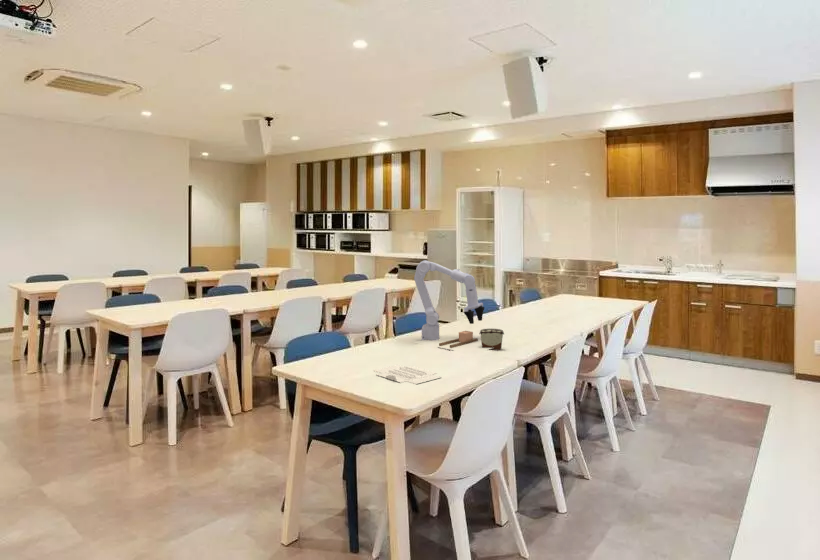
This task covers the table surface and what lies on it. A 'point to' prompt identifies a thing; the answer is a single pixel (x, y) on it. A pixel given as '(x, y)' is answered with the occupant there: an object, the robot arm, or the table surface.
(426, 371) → the white printed sheet
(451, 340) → the chute
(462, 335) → the block
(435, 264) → the robot arm
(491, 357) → the table surface
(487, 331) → the food container
